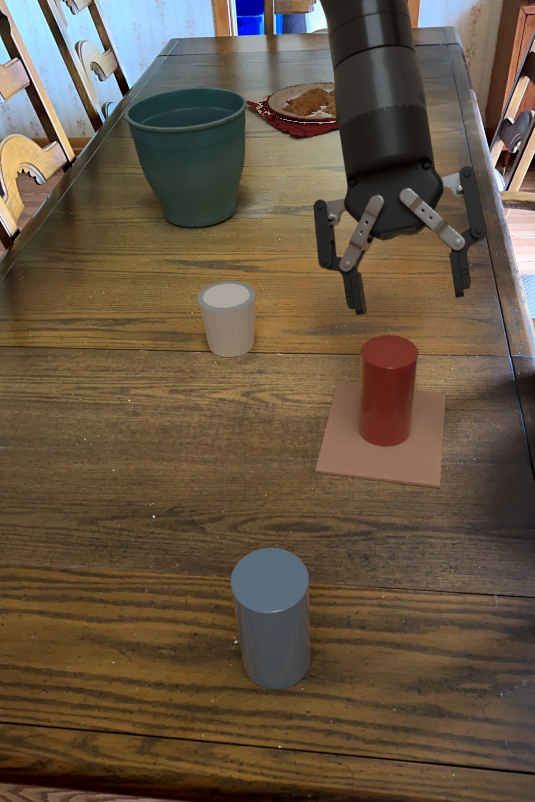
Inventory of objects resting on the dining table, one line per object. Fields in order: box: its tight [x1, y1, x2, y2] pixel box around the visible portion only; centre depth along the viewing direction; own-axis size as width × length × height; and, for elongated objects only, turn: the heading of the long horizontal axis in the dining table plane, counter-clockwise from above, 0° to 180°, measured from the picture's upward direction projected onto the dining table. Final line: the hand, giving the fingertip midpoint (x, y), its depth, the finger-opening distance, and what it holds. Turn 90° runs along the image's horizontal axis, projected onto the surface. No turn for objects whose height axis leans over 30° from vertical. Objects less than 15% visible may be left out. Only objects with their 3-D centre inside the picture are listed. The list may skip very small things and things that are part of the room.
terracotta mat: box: [314, 382, 447, 489], centre depth 74 cm, size 12×14×1 cm
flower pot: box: [124, 87, 248, 228], centre depth 112 cm, size 18×18×17 cm
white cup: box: [196, 280, 256, 358], centre depth 86 cm, size 7×7×7 cm
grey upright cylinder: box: [230, 547, 312, 690], centre depth 52 cm, size 5×5×10 cm
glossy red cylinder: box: [358, 334, 419, 447], centre depth 71 cm, size 5×5×10 cm
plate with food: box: [246, 81, 339, 138], centre depth 150 cm, size 24×26×3 cm
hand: (409, 306), depth 62 cm, fingers open, 8 cm apart
